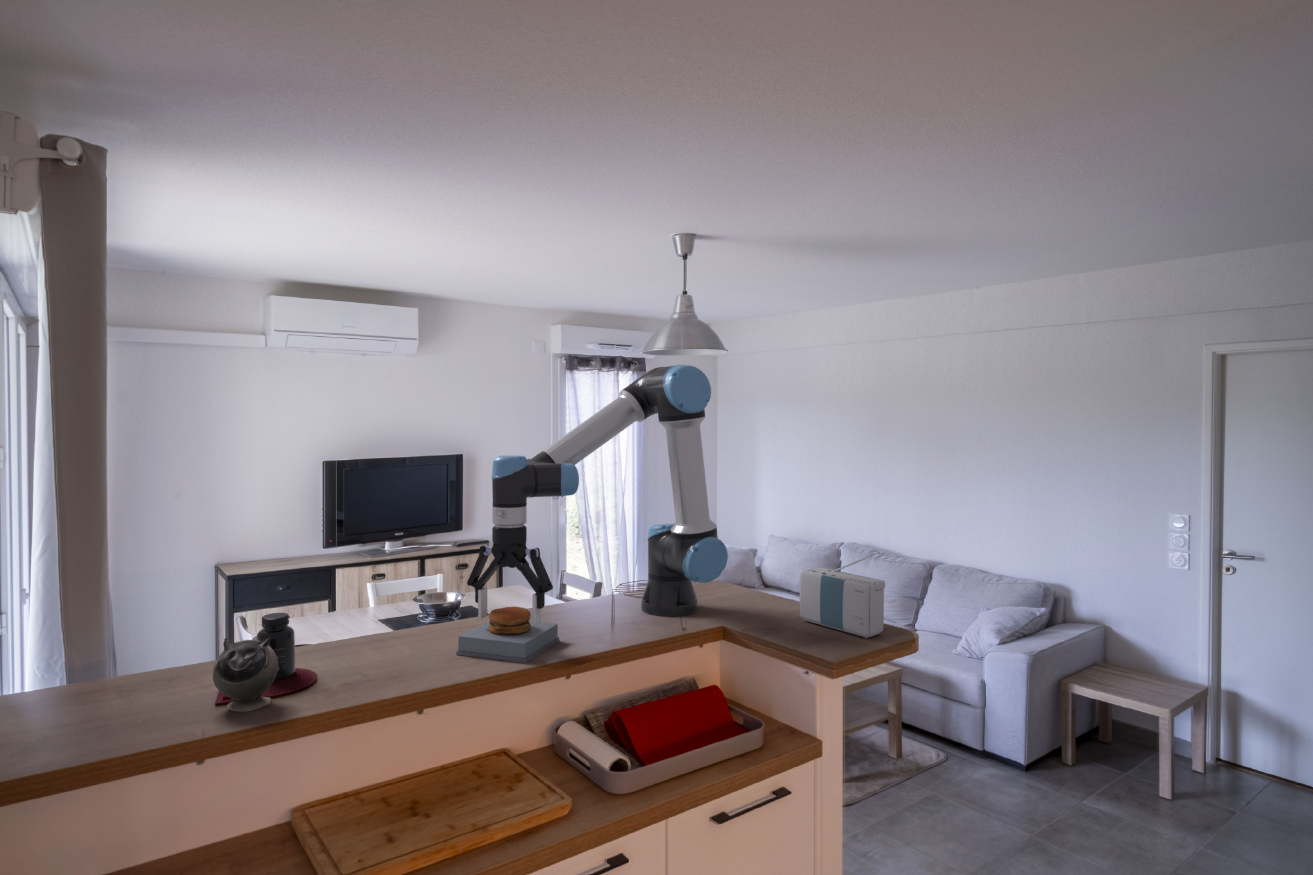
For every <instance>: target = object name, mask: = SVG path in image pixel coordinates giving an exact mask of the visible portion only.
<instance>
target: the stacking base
mask: <svg viewBox="0 0 1313 875" xmlns="http://www.w3.org/2000/svg"><path fill="white" fill-rule="evenodd" d="M529 622H530V625H531V628H530V630H529V631H527V632H523V633H520V634H504V633H503V634H494V633H491V632H490V631H489V626H490V620H488V621H486V622H485V623H482V624H480V625H478V626H476V627H474V628H473V629H470V630H468V631H467V632H464V633H462V634H460V635H458V644H457V645H458V649H457V650H456V653H455V654H456V656H464V657H471V658H472V657H473V658H480V659H482V658H483V659H487V660H488V659H489V660H498V661H507V662H515V663H524V664H526V663H528V662H529V661H531V660H532V659H534V658H535V657H537V656H539V655H540V654H542V653H543V652H544V651H546V650H548V649H549V648H550V647H552V646H554V645H555V644H557V643H558V642H560V637H558V632H559V631H558V629H559V628H558V626H559V625H558V623H552V622H543V621H541V622H539V623H537V624H536V625H535V624H532V620H529Z"/></svg>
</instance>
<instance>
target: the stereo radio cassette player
mask: <svg viewBox="0 0 1313 875" xmlns="http://www.w3.org/2000/svg"><path fill="white" fill-rule="evenodd" d="M879 554H881V552H880V551H877V553H873V554H870V555H868V556H866V557H863V558H860V559H858V560H855V561H853V562H851V563H848V564H846V565H843V566H841V567H838V568H836V569H830V568H825V567H816V568H815V567H814V568H810V569H804V570H801V571H800V577H799V614H800V615H799V617H800V618H802V619H803V620H804V621H805V622H806V623H808V622H810V623H813V624H817V625H820V626H823V627H827V628H830V629H835V630H838V631H841V632H845V633H849V634H852V635H855V636H859V637H863V638H864V639H869V638H871V637H875V636H876V635H880V634H881V633H882V632H884V620H885V619H884V616H885V615H884V611H885V608H884V606H885V588H886V581H885V579H879V578H875V577H870V576H869V577H868V576H865V575H864V576H863V575H860V574H854V573H851V572H850V573H849V572H844V571H841V570H843V569H845V568H848V567H850V566H853V565H855V564H858V563H859V562H862V561H864V560H866V559H868V558H872V557H873V556H875V555H879Z"/></svg>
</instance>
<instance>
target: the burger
mask: <svg viewBox="0 0 1313 875" xmlns="http://www.w3.org/2000/svg"><path fill="white" fill-rule="evenodd" d="M530 618H531V611H530V610H529V609H527V608H525V607H523V606H521V607H520V606H506V607H504V606H503V607H502V608H500V607H499V608H495V609H491V611H490V612H489V614H488V619H489V621H490V626H489V631H490V632H491V633H494V634H503V633H504V634H520V633H523V632H527V631H529V630H530V628H531V625H530V622H529V621H531V619H530Z"/></svg>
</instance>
